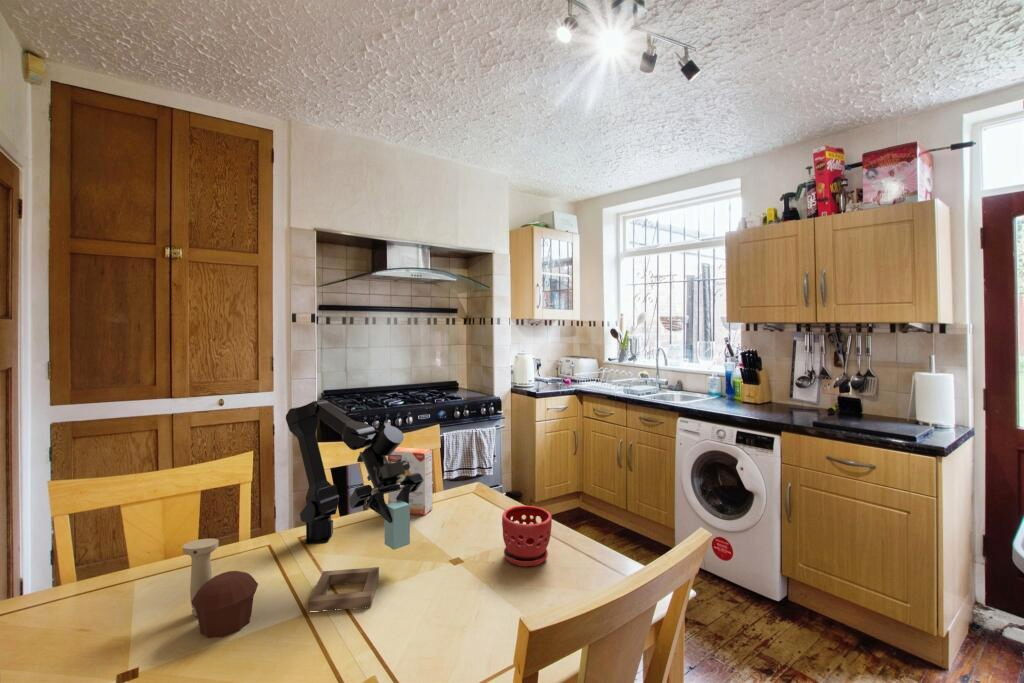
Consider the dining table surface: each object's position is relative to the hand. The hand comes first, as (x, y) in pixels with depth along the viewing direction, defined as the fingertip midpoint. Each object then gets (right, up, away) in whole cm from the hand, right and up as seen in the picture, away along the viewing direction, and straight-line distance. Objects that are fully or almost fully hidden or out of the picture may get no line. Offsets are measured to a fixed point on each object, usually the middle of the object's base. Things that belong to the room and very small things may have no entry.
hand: (399, 519), depth 116 cm
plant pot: (+32, -13, +7) cm, 35 cm away
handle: (-38, -14, -16) cm, 44 cm away
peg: (-1, -7, +1) cm, 7 cm away
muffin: (-31, -14, -20) cm, 39 cm away
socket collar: (-10, -14, -9) cm, 19 cm away
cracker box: (-7, -13, +42) cm, 45 cm away
